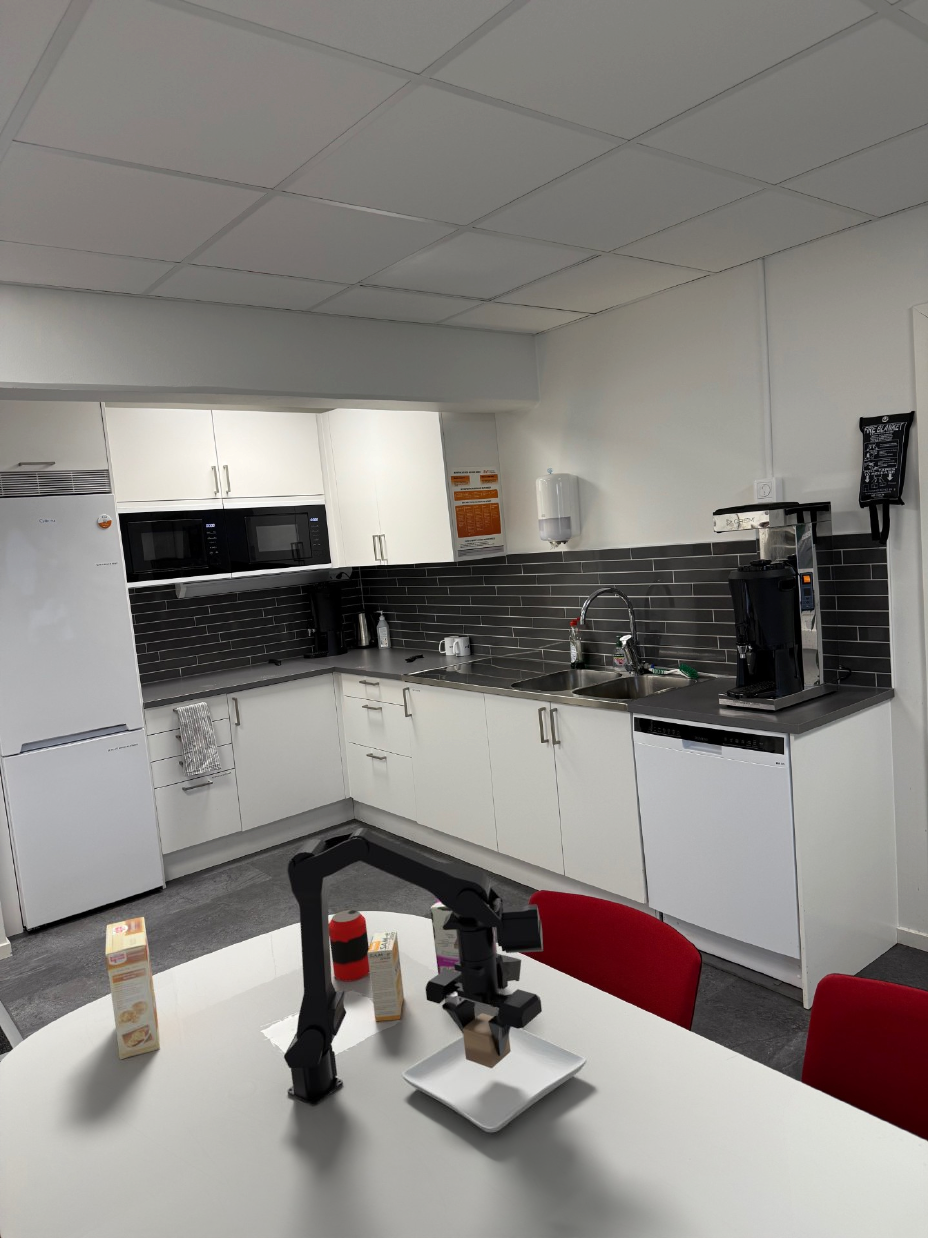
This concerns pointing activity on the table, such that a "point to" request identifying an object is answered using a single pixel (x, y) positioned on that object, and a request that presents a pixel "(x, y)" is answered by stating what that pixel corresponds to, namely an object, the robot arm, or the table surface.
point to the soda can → (349, 945)
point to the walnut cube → (482, 1042)
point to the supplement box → (385, 976)
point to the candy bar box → (445, 939)
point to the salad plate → (495, 1078)
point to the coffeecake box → (132, 987)
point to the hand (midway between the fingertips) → (487, 1049)
